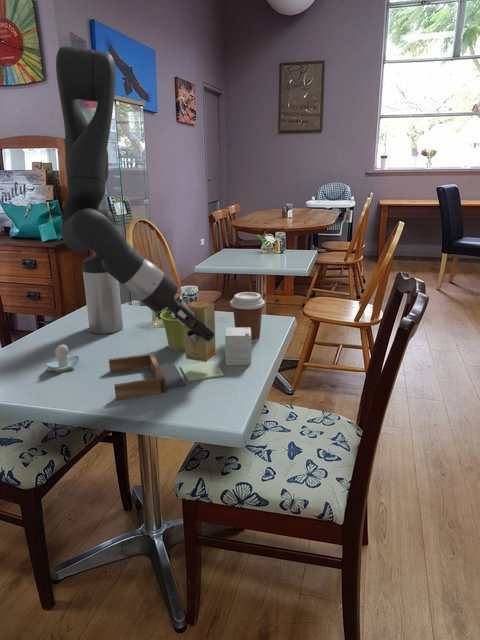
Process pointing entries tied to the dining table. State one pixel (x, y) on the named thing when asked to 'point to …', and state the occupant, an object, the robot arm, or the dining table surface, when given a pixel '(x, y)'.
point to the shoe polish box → (194, 342)
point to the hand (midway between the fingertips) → (206, 332)
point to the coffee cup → (248, 312)
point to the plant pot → (173, 331)
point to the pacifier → (62, 360)
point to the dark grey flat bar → (172, 376)
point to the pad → (201, 371)
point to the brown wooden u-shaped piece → (140, 386)
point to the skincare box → (238, 346)
